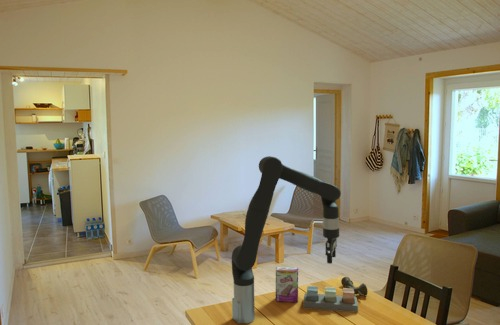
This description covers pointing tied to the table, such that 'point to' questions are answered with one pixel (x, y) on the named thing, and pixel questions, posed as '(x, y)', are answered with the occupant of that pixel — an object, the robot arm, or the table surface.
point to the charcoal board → (330, 304)
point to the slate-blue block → (312, 293)
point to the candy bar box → (286, 284)
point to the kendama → (357, 290)
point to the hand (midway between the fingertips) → (331, 260)
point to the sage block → (330, 294)
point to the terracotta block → (348, 295)
